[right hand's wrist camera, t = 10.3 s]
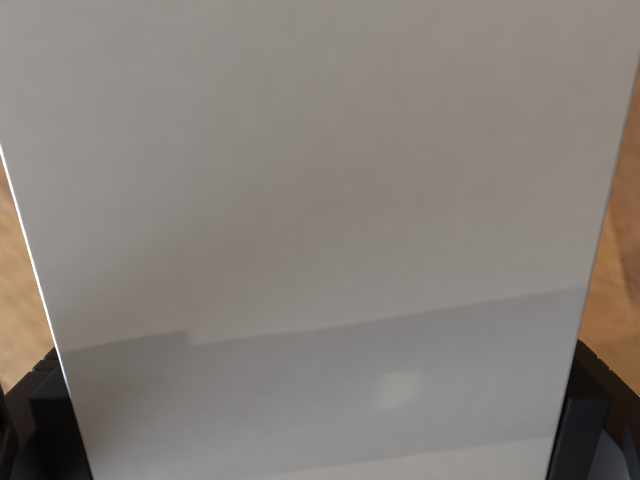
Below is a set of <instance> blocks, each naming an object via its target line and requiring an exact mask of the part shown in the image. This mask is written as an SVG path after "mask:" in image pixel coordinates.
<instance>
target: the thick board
mask: <svg viewBox="0 0 640 480" xmlns="http://www.w3.org/2000/svg"><path fill="white" fill-rule="evenodd" d="M639 65H640V0H0V153H1V156H2V160H3V163H4V167H5V170H6V174H7V178H8V181H9V185H10V188H11V192H12V195H13V199H14V202H15V206H16V209H17V213H18V216H19V220H20V223H21V227H22V230H23V234H24V237H25V241H26V244H27V248H28V251H29V255H30V258H31V262H32V266H33V269H34V273H35V276H36V280H37V283H38V287H39V290H40V294H41V297H42V301H43V304H44V308H45V311H46V315H47V318H48V322H49V325H50V329H51V332H52V336H53V339H54V343H55V346H56V350H57V353H58V357H59V361H60V364H61V368H62V371H63V375H64V378H65V382H66V385H67V389H68V392H69V396H70V399H71V403H72V406H73V410H74V413H75V417H76V420H77V424H78V427H79V431H80V434H81V438H82V441H83V445H84V448H85V452H86V456H87V459H88V463H89V466H90V470H91V473H92V477H93V480H546V476H547V471H548V467H549V463H550V458H551V454H552V449H553V445H554V441H555V436H556V432H557V427H558V423H559V418H560V414H561V410H562V405H563V401H564V396H565V392H566V387H567V383H568V379H569V374H570V370H571V365H572V361H573V357H574V352H575V348H576V343H577V339H578V334H579V330H580V326H581V321H582V317H583V312H584V308H585V304H586V299H587V295H588V290H589V286H590V281H591V277H592V273H593V268H594V264H595V259H596V255H597V250H598V246H599V242H600V237H601V233H602V228H603V224H604V220H605V215H606V211H607V206H608V202H609V197H610V193H611V189H612V184H613V180H614V175H615V171H616V167H617V162H618V158H619V153H620V149H621V144H622V140H623V136H624V131H625V127H626V122H627V118H628V113H629V109H630V105H631V100H632V96H633V91H634V87H635V83H636V78H637V74H638V69H639Z"/></svg>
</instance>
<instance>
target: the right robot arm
mask: <svg viewBox="0 0 640 480" xmlns="http://www.w3.org/2000/svg"><path fill="white" fill-rule="evenodd" d="M0 480H93V477H92V473H91V470H90V466H89V463H88V459H87V456H86V452H85V448H84V445H83V441H82V438H81V434H80V431H79V427H78V424H77V420H76V417H75V413H74V410H73V406H72V403H71V399H70V396H69V392H68V389H67V385H66V382H65V378H64V375H63V371H62V368H61V364H60V361H59V357H58V353H57V350H56V346H55V347H54V348H53V349H52V350H51V351H50V352H49V353H48V354H47V355H46V356H45V357H44V359H43V360H40V361H39V362H38V363H37V364H36V365H35V366H34V367H33V368H32V372H28V373H27V374H26V375H25V376H24V377H23V378H22V379H21V380H20V381H19V382H18V383H17V384H16V385H15V386H14V387H13V388H12V389H11V390H10V391H9V392H8V393H7V394H6V395H5V396H4V393H3V390H2V387H1V384H0ZM546 480H640V397H639V396H638V395H637V394H636V393H635V392H634V391H632V390H631V389H630V388H629V387H628V386H627V385H626V384H625V383H624V382H623V381H622V380H621V379H620V378H619V377H618V376H617V375H616V374H615V373H614V372H613V371H612V370H609V367H608V366H607V365H606V364H605V363H604V362H603V361H602V360H601V359H598V358H597V355H596V354H595V353H594V352H593V351H592V350H591V349H590V348H588V347H587V346H586V345H585V344H584V343H583V342H582V341H580V340H578V339H577V343H576V348H575V352H574V357H573V361H572V365H571V370H570V374H569V379H568V383H567V387H566V392H565V396H564V401H563V405H562V410H561V414H560V418H559V423H558V427H557V432H556V436H555V441H554V445H553V449H552V454H551V458H550V463H549V467H548V471H547V476H546Z"/></svg>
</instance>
